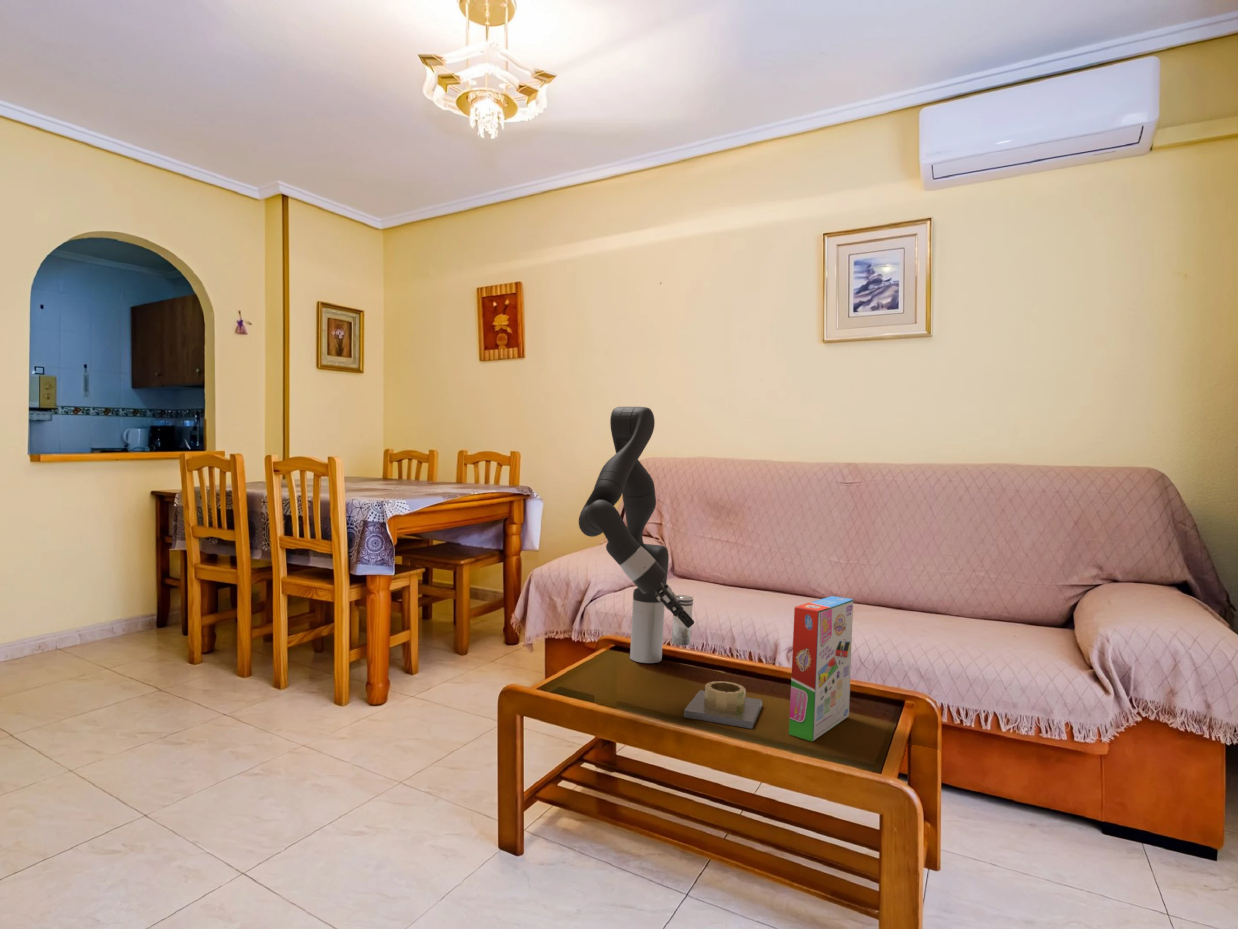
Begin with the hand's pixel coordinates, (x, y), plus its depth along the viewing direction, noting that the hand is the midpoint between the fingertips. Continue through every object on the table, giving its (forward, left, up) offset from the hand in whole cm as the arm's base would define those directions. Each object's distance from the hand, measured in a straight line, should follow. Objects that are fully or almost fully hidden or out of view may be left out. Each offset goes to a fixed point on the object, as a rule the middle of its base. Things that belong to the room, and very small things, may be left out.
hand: (690, 622), depth 159 cm
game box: (+3, +31, -19) cm, 36 cm away
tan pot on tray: (+4, +10, -18) cm, 21 cm away
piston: (+1, -2, -5) cm, 5 cm away
